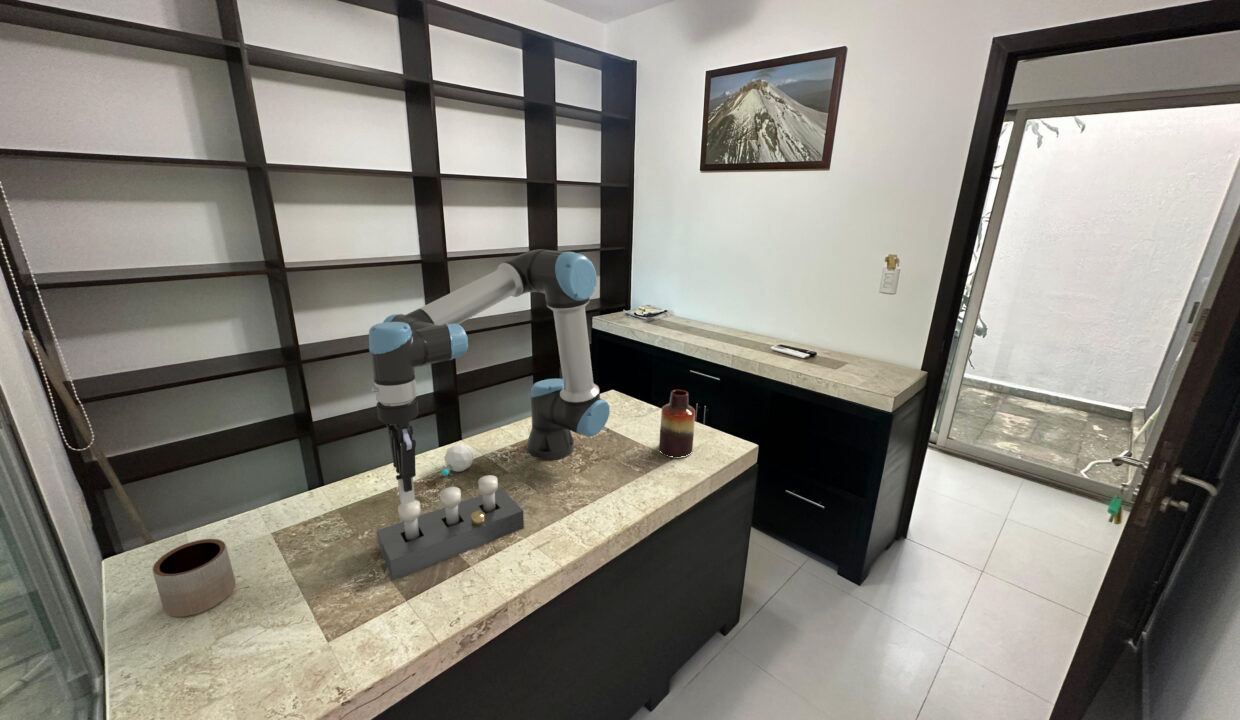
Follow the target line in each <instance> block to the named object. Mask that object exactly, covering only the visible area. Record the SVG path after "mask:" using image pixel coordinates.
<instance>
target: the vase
mask: <svg viewBox="0 0 1240 720" xmlns="http://www.w3.org/2000/svg"><path fill="white" fill-rule="evenodd" d="M695 420H696V410H695V408H694V407H693V406H691V405H689V392H688V391H686V390H682V389H673V390H671V392H670V397H669V403H666V404H665V405H663V406H662V407H661V413H660V427H659V428H660V429H659V431H660V432H659V444H658V449H659V452H660V451H661V452H662V453H663V454H665V455H668V456H673V457H681V456H686V455H688V454H690V453H691V452H693V445H694V434H695ZM661 452H660V453H661ZM662 453H661V454H662ZM663 454H662V455H663ZM665 455H664V456H665ZM668 456H667V457H668Z"/></svg>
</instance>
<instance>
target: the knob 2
mask: <svg viewBox="0 0 1240 720" xmlns="http://www.w3.org/2000/svg"><path fill="white" fill-rule="evenodd" d="M477 483H478V491H479V493H481V495H483V508H484V511H485V512H492V511H494V510H495V492H496V491H497V490H498V489H499V484H498V483H499V482H498V477H497V476H495V475H492V474H491V475H490V474H489V475H484V476H482V477H480V478H479V479H478V482H477Z"/></svg>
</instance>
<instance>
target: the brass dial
mask: <svg viewBox="0 0 1240 720" xmlns="http://www.w3.org/2000/svg"><path fill="white" fill-rule="evenodd" d="M484 522H485V515H484V512H483V511H475V512H473V513H472V514H471V523H472V525H474V526H480V525H482V524H484Z"/></svg>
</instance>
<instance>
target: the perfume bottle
mask: <svg viewBox="0 0 1240 720" xmlns="http://www.w3.org/2000/svg"><path fill="white" fill-rule="evenodd" d="M473 460H474V453H473V450H472V449H471V448H470V447H469V446H467V445H466V444H463V443H458V444H457V443H455V444H454V445H451V447H449V448H447V450H446V452H445V455H444V462H445V465H446V466H444V465H442V467H443V468H442V469H441V475H442V476H443V477H447V476H448V475H452V476H453V474H452V473H451V470H452V471H453V472H464V471H465V470H466V469H468V468H470V467H471V466H472V463H473Z"/></svg>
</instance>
